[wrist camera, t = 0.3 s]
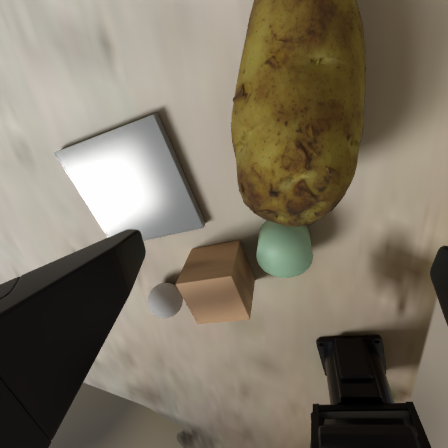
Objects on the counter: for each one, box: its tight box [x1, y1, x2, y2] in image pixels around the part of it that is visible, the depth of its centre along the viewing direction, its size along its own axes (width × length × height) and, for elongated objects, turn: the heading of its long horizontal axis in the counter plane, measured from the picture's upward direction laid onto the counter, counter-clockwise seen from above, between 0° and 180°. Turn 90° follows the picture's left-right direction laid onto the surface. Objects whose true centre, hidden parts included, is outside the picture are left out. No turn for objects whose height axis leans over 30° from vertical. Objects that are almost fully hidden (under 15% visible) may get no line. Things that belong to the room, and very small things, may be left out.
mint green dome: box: [256, 220, 313, 278], centre depth 23 cm, size 4×4×3 cm
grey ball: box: [148, 283, 183, 318], centre depth 29 cm, size 4×4×4 cm
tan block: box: [176, 240, 255, 324], centre depth 25 cm, size 5×5×5 cm
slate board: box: [54, 113, 205, 241], centre depth 24 cm, size 10×10×1 cm
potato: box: [231, 0, 366, 227], centre depth 15 cm, size 8×13×8 cm, turn 165°
